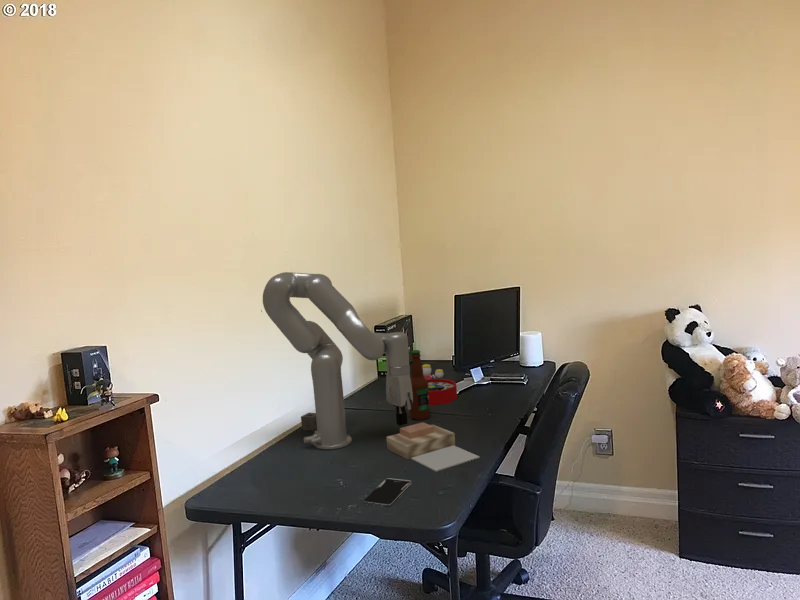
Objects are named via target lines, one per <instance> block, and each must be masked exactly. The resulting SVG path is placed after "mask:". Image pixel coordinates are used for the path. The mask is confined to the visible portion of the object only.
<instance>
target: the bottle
mask: <svg viewBox="0 0 800 600" xmlns="http://www.w3.org/2000/svg"><path fill="white" fill-rule="evenodd" d="M422 365H423V364H422V360H421V350H419V349H414V350H412V351H411V366H410V379H411V384H412V392H413V403H412V404H411V409H410V410H409V417H410V419H411V418H412V419H411V420H413V419H415V420H414V421H424V420H428V419H429V417H430V416H431V415H430V406H429V396H428V383H427V381H426V379H425V378H424V376H423V368H422ZM423 419H424V420H423Z"/></svg>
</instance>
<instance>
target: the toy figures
mask: <svg viewBox="0 0 800 600" xmlns="http://www.w3.org/2000/svg"><path fill="white" fill-rule="evenodd" d="M422 368H423V376H424V378H425V379H426V380H427V379H445V377H446V376H444V370H443V369H440V368H439V369H438V368H437V369H436V370H435V372H434V374H432V366H431V364H428V363H424V364H422Z"/></svg>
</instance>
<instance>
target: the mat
mask: <svg viewBox="0 0 800 600" xmlns="http://www.w3.org/2000/svg"><path fill="white" fill-rule="evenodd" d="M480 458H481V457H480V455H477V454H474V453H473V452H470V451H467V450H466V449H463V448H461V447H458V446H456V445H455V446H454V445H453V446H450V447H446V448H443V449H439V450H436V451H433V452H429V453H426V454H422V455H419V456H416V457H412V458H411V460H412V461H414V462H416V463H418V464H420V465H422V466H424V467H425V468H427V469H430V470H431V471H434V472H436V473H437V472H440V471H443V470H446V469H449V468H452V467H455V466H456V467H457V466H459V465H463V464H465V462H466V463H468V461H469V462H472V461H475V460H477V459H480ZM474 459H475V460H474ZM471 460H472V461H471Z"/></svg>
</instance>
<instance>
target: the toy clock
mask: <svg viewBox="0 0 800 600" xmlns="http://www.w3.org/2000/svg"><path fill="white" fill-rule="evenodd" d="M426 381H427V383H428V396H429V405H433V406H438V405H437V404H442V405H446V404H445V403H447V404H450V403H453V402H455V401H456V400H457V399H458V391H457V388H458V387H457V383H456V382H455V381H453V380H451V379H434V378H432V379H427V380H426ZM454 400H455V401H454ZM452 401H453V402H452ZM449 402H450V403H449Z"/></svg>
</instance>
